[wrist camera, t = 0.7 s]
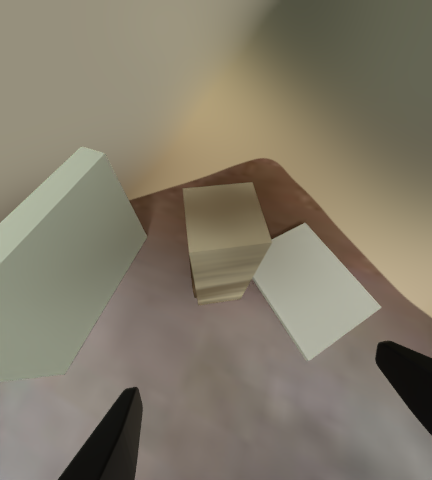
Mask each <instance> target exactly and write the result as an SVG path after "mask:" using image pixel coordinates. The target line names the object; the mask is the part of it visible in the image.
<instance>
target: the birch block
mask: <svg viewBox="0 0 432 480" xmlns="http://www.w3.org/2000/svg"><path fill="white" fill-rule="evenodd" d="M183 198H184V208H185V218H186V228H187V237H188V247H189V259H190V269H191V278H192V288H193V293H194V297H195V298H196V297H197V299H198V305H205V304H211V303H218V302H224V301H231V300H238V299H241V297H242V296H243V294H244V292H245V290H246V288H247V287H248V285H249V283H250V281H251V280H252V278H253V276H254V274H255V272H256V271H257V269H258V267H259V265H260V263H261V262H262V260H263V258H264V256H265V255H266V253H267V251H268V249H269V247H270V246H271V244H272V240H271V237H270V234H269V231H268V228H267V225H266V222H265V219H264V216H263V213H262V210H261V207H260V204H259V201H258V198H257V195H256V192H255V189H254V186H253V183H252V182H249V183H238V184H227V185H216V186H205V187H194V188H183Z"/></svg>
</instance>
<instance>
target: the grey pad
mask: <svg viewBox="0 0 432 480" xmlns="http://www.w3.org/2000/svg"><path fill="white" fill-rule="evenodd" d="M252 279H253V281H254V282H255V284H256V285H257V287H258V288H259V290H260V291H261V293H262V294H263V296H264V297H265V299H266V301H267V302H268V304H269V305H270V307H271V308H272V310H273V311H274V313H275V314H276V316H277V317H278V319H279V320H280V322H281V323H282V325H283V327H284V328H285V330H286V331H287V333H288V334H289V336H290V337H291V339H292V340H293V342H294V343H295V345H296V346H297V348H298V349H299V351H300V352H301V354H302V356H303V357H304V359H305V360H306V361H310V360H311V359H312V358H314V357H315V356H316V355H318V354H319V353H321V352H322V351H323V350H325V349H326V348H327V347H329V346H330V345H331V344H333V343H334V342H335V341H337V340H338V339H340V338H341V337H342V336H344V335H345V334H346V333H348V332H349V331H350V330H352V329H353V328H354V327H356V326H357V325H358V324H360V323H361V322H363V321H364V320H365V319H367V318H368V317H369V316H371V315H372V314H373V313H375V312H376V311H377V310H379V309H380V308H381V306H380V305H379V304H378V303H377V302H376V301H375V299H374V298H373V297H372V296H371V295H370V294H369V293H368V292H367V291H366V290H365V288H364V287H363V286H362V285H361V284H360V283H359V282H358V281H357V280H356V278H355V277H354V276H353V275H352V274H351V273H350V272H349V271H348V270H347V268H346V267H345V266H344V265H343V264H342V263H341V262H340V261H339V260H338V258H337V257H336V256H335V255H334V254H333V253H332V252H331V251H330V250H329V248H328V247H327V246H326V245H325V244H324V243H323V242H322V241H321V240H320V238H319V237H318V236H317V235H316V234H315V233H314V232H313V231H312V230H311V228H310V227H309V226H308V225H307V224H306V223H303V224H301V225H299V226H298V227H296V228H294V229H292V230H290V231H288V232H286V233H284V234H282V235H280V236H278V237H276V238H274V239H272V244H271V246H270V247H269V249H268V251H267V253H266V255H265V256H264V258H263V260H262V262H261V263H260V265H259V267H258V269H257V271H256V272H255V274H254V276H253V278H252Z"/></svg>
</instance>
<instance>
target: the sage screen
mask: <svg viewBox="0 0 432 480" xmlns="http://www.w3.org/2000/svg"><path fill="white" fill-rule="evenodd" d="M146 238H147V235H146V233H145V231H144V229H143V227H142V225H141V223H140V221H139V219H138V217H137V216H136V214H135V212H134V210H133V208H132V206H131V204H130V202H129V200H128V198H127V196H126V194H125V192H124V190H123V188H122V186H121V184H120V182H119V180H118V178H117V176H116V174H115V172H114V170H113V168H112V166H111V164H110V162H109V160H108V158H107V156H106V154H105V153H102V152H99V151H95V150H92V149H88V148H85V147H80V148H79V149H78V150H77V151H76V152H75V153H74V154H73V155H72V156H71V157H70V158H69V159H68V160H67V161H66V162H64V163H63V164H62V165H61V166H60V167H59V168H58V169H57V170H56V171H55V172H54V173H53V174H52V175H51V176H50V177H48V179H46V180H45V181H44V182H43V183H42V184H41V185H40V186H39V187H38V188H37V189H36V190H35V191H34V192H33V193H32V194H30V195H29V196H28V198H26V199H25V200H24V201H23V202H22V203H21V204H20V205H19V206H18V207H17V208H16V209H15V210H14V211H12V213H10V214H9V215H8V216H7V217H6V218H5V219H4V220H3V221H2V222H1V223H0V382H6V381H14V380H22V379H31V378H39V377H47V376H56V375H64V374H65V373H66V372H67V370H68V368H69V367H70V365H71V363H72V362H73V360H74V358H75V357H76V355H77V353H78V352H79V350H80V348H81V347H82V345H83V343H84V342H85V340H86V338H87V337H88V335H89V333H90V332H91V330H92V328H93V327H94V325H95V323H96V322H97V320H98V318H99V317H100V315H101V313H102V312H103V310H104V308H105V307H106V305H107V303H108V302H109V300H110V298H111V297H112V295H113V293H114V292H115V290H116V288H117V287H118V285H119V283H120V282H121V280H122V278H123V277H124V275H125V273H126V272H127V270H128V268H129V267H130V265H131V263H132V262H133V260H134V258H135V257H136V255H137V253H138V252H139V250H140V248H141V247H142V245H143V243H144V242H145V240H146Z"/></svg>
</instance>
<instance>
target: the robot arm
mask: <svg viewBox="0 0 432 480" xmlns="http://www.w3.org/2000/svg"><path fill="white" fill-rule="evenodd" d="M375 360H376V364H377V366H378V367H379V369H380V370H381V371H382V373H383V374H384V375H385V377H386V378H387V379H388V381H389V382H390V383H391V385H392V386H393V387H394V389H395V390H396V392H397V393H398V394H399V396H400V397H401V398H402V400H403V401H404V402H405V404H406V405H407V406H408V408H409V409H410V410H411V412H412V413H413V414H414V415H415V416H416V418H417V419H418V420H419V421H420V422H421V424H422V425H423V426H424V427H425V428H426V429H427V431H428V432H429V433H430V434H431V435H432V358H430V357H428V356H425V355H423V354H421V353H418V352H416V351H413V350H411V349H409V348H406V347H404V346H402V345H399V344H397V343H394V342H392V341H383V342H379V343H378V345H377V350H376V357H375ZM142 411H143V407H142V401H141V397H140V393H139V389H138V388H137V387H132V388H127V389H125V390H124V391H123V392H122V393H121V395H120V396H119V398H118V399H117V400H116V402H115V403H114V404H113V406H112V407H111V408H110V410H109V411H108V412H107V414H106V415H105V416H104V418H103V419H102V421H101V422H100V423H99V425H98V426H97V427H96V429H95V430H94V431H93V433H92V434H91V435H90V437H89V438H88V439H87V441H86V442H85V444H84V445H83V446H82V448H81V449H80V450H79V452H78V453H77V454H76V456H75V457H74V458H73V460H72V461H71V463H70V464H69V465H68V467H67V468H66V469H65V471H64V472H63V473H62V475H61V476H60V477H59V479H58V480H134V479H135V473H136V465H137V457H138V448H139V439H140V430H141V421H142Z"/></svg>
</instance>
